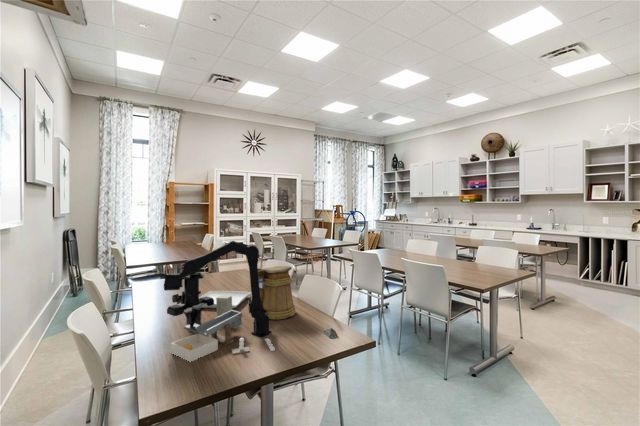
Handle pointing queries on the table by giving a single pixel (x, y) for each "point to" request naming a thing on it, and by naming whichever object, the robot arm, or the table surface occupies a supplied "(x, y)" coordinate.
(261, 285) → the walkman
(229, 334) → the pivot stand
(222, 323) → the tipping lever
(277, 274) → the tankard
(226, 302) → the skincare box
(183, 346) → the ball
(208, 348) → the white open tray
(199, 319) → the supplement container
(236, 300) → the square plate
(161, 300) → the table surface
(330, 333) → the game pieces
